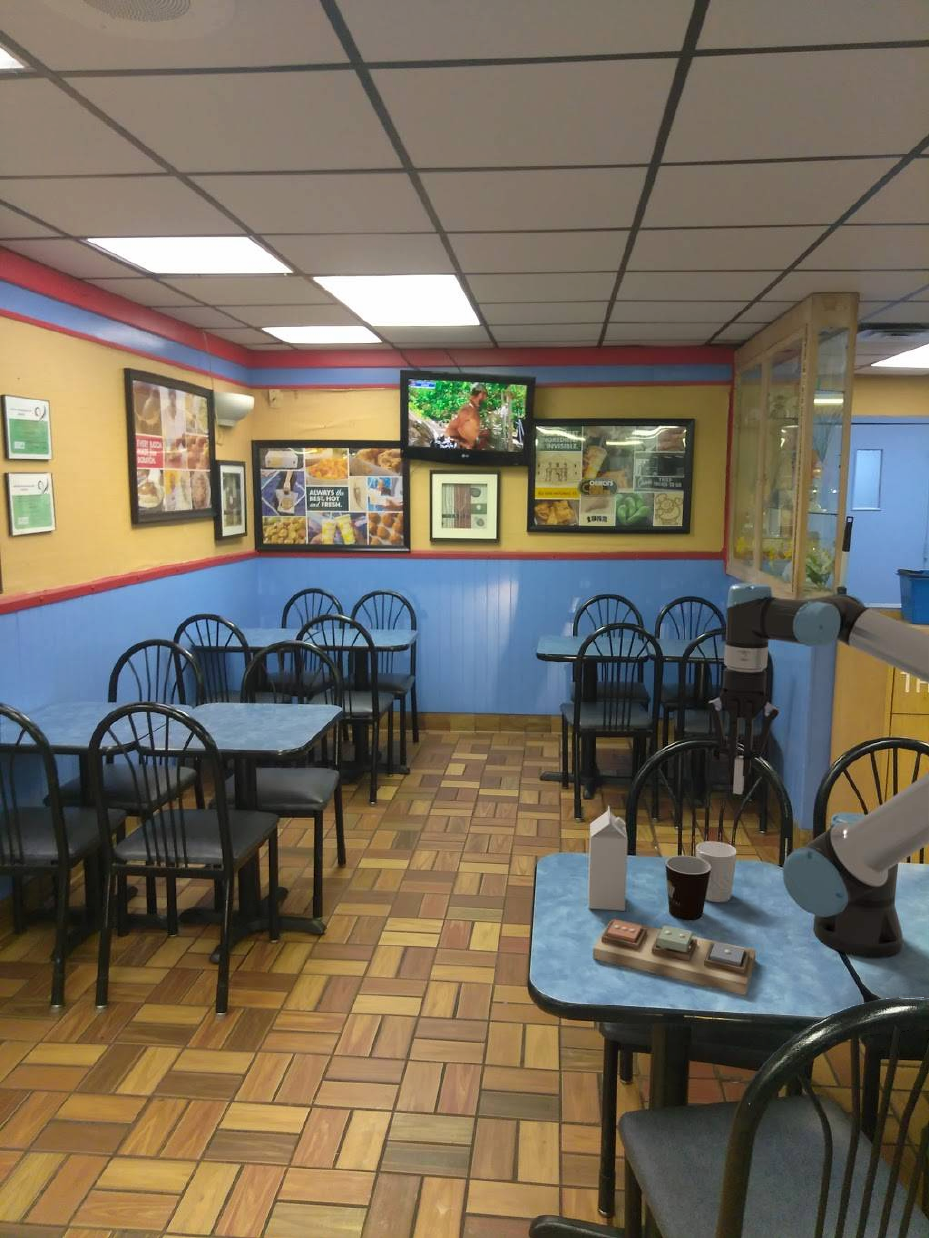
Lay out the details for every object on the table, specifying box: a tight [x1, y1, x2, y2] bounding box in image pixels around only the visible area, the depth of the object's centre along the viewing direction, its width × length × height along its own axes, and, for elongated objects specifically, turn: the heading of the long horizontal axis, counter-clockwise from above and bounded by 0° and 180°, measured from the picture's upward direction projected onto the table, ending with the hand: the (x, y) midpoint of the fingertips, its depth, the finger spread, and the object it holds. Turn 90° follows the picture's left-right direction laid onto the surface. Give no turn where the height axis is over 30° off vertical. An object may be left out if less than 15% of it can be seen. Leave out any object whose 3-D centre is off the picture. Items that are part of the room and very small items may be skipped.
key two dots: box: [657, 925, 693, 952], centre depth 155 cm, size 5×5×2 cm
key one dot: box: [710, 942, 745, 967], centre depth 151 cm, size 5×5×2 cm
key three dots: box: [607, 919, 642, 943], centre depth 159 cm, size 5×5×2 cm
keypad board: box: [592, 918, 757, 996], centre depth 155 cm, size 26×12×3 cm, turn 65°
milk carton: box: [587, 805, 628, 912], centre depth 176 cm, size 7×7×19 cm
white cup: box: [695, 840, 737, 903], centre depth 180 cm, size 8×8×10 cm
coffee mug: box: [664, 855, 711, 922], centre depth 174 cm, size 12×9×10 cm
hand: (738, 791), depth 165 cm, fingers closed
